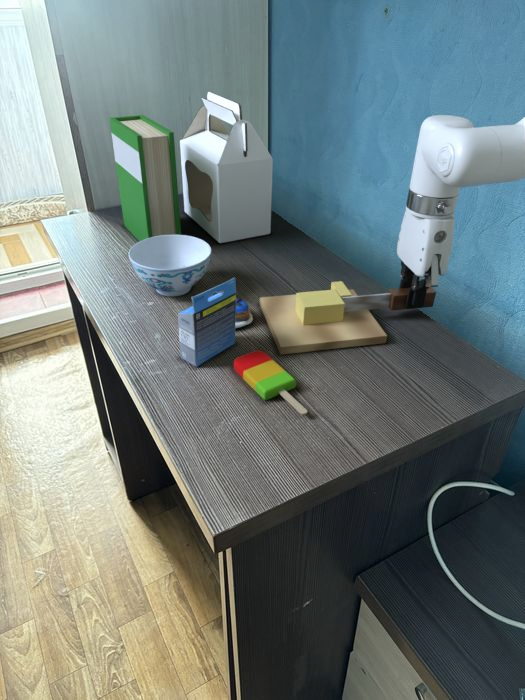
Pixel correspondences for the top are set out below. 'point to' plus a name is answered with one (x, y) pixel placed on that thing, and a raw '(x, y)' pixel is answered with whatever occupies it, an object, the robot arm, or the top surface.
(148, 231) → the hardback book
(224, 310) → the label tape box
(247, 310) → the dessert
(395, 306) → the knife
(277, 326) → the cutting board
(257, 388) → the popsicle
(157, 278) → the chinaware
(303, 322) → the butter block
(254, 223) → the gable box
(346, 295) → the butter slice
